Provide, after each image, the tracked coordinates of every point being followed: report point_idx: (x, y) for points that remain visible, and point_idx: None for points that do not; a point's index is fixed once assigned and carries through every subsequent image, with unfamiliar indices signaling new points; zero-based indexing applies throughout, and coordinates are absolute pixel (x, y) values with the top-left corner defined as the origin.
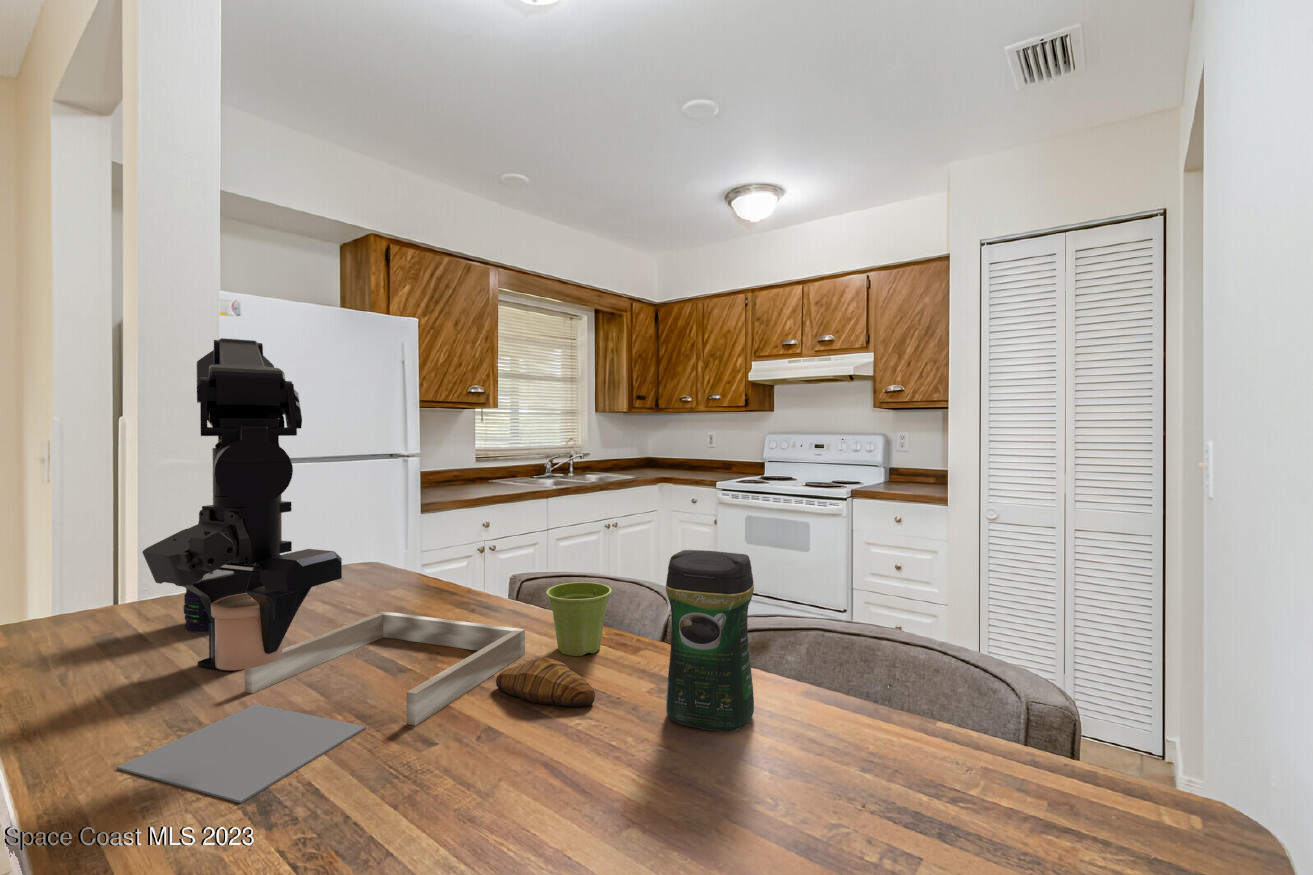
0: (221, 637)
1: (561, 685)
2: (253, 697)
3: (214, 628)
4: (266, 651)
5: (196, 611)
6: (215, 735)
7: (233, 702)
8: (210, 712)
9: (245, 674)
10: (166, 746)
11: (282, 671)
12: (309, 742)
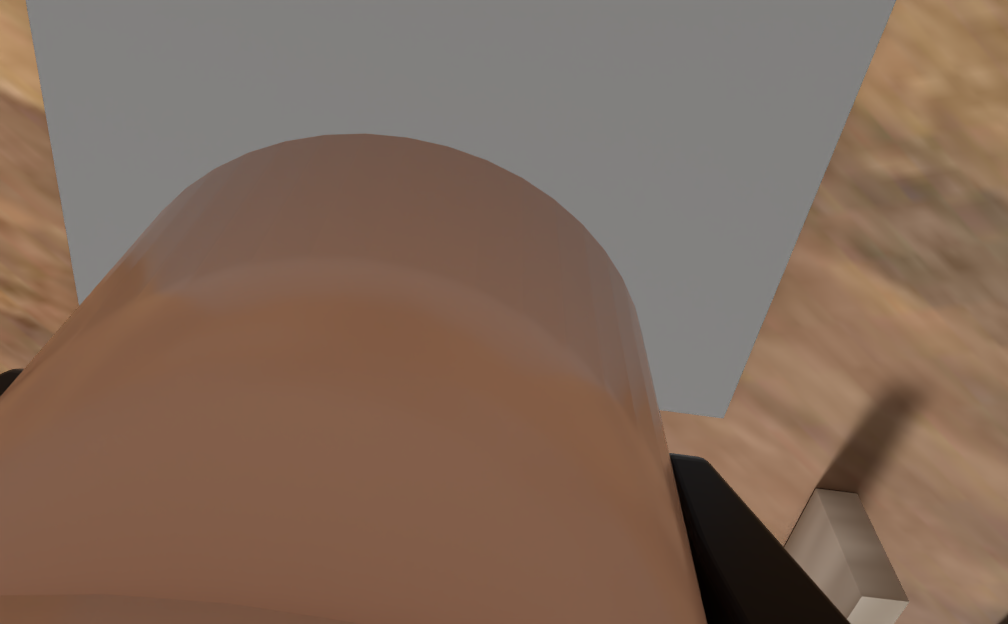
0: (332, 337)
1: None
2: (788, 466)
3: (824, 605)
4: (2, 377)
5: None
6: (689, 156)
7: (847, 422)
8: (890, 340)
9: (883, 556)
10: (864, 18)
11: None
12: (188, 177)
